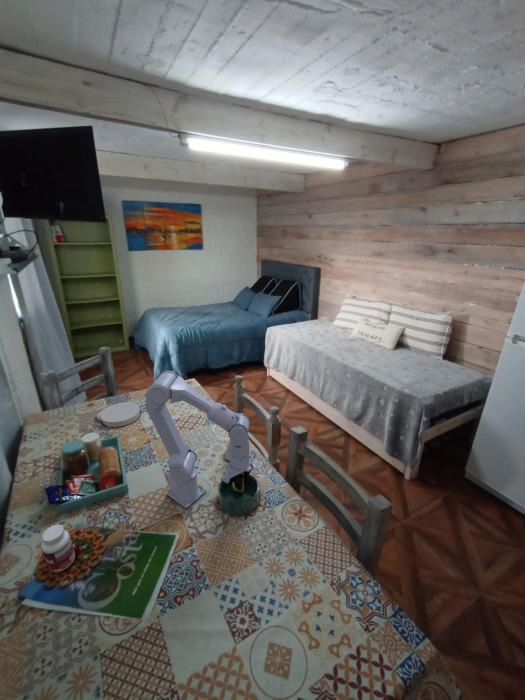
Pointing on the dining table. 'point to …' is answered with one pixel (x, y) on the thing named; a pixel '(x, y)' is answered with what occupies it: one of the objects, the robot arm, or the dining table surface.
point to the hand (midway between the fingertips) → (240, 486)
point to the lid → (119, 414)
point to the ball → (234, 487)
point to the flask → (228, 453)
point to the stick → (242, 485)
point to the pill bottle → (57, 548)
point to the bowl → (239, 497)
